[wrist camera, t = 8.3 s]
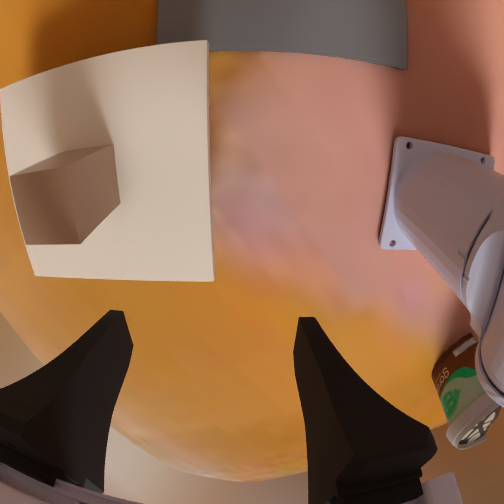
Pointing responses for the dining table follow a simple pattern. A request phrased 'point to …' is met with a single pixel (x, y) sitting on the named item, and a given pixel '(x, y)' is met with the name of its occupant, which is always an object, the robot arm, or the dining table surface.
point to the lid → (115, 165)
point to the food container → (463, 395)
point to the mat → (292, 27)
